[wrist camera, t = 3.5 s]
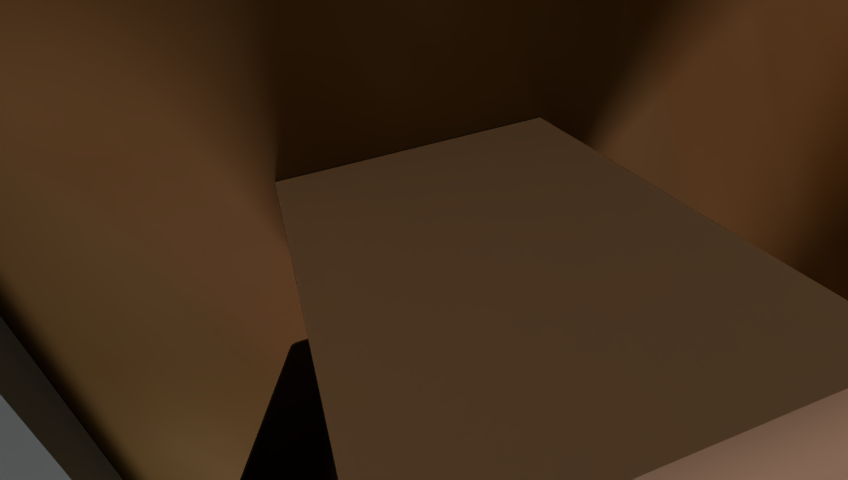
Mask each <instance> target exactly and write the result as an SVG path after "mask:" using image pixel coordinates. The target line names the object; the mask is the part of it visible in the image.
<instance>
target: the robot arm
mask: <svg viewBox="0 0 848 480" xmlns="http://www.w3.org/2000/svg"><path fill="white" fill-rule="evenodd" d="M240 480H338V476H337V471H336V466H335V462H334V457H333V452H332V448H331V443H330V438H329V434H328V429H327V424H326V420H325V415H324V410H323V406H322V401H321V396H320V392H319V387H318V382H317V377H316V373H315V368H314V363H313V359H312V354H311V349H310V345H309V340H308V339H305V340H302V341H299V342H296V343H294V344H292V346H291V347H290V350H289V352H288V355H287V357H286V360H285V363H284V365H283V368H282V371H281V373H280V376H279V379H278V381H277V384H276V386H275V389H274V392H273V394H272V397H271V400H270V402H269V405H268V408H267V410H266V413H265V416H264V418H263V421H262V423H261V426H260V429H259V431H258V434H257V437H256V439H255V442H254V445H253V447H252V450H251V453H250V455H249V458H248V460H247V463H246V466H245V468H244V471H243V474H242V476H241V479H240Z"/></svg>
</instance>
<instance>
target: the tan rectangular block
mask: <svg viewBox="0 0 848 480" xmlns="http://www.w3.org/2000/svg"><path fill="white" fill-rule="evenodd" d="M275 186H276V190H277V195H278V200H279V204H280V209H281V214H282V218H283V223H284V228H285V232H286V237H287V242H288V246H289V251H290V256H291V260H292V265H293V270H294V274H295V279H296V284H297V289H298V293H299V298H300V303H301V307H302V312H303V317H304V321H305V326H306V331H307V335H308V340H309V345H310V349H311V354H312V359H313V363H314V368H315V373H316V377H317V382H318V387H319V392H320V396H321V401H322V406H323V410H324V415H325V420H326V424H327V429H328V434H329V438H330V443H331V448H332V452H333V457H334V462H335V466H336V471H337V476H338V480H848V301H847V300H846V299H844V298H842V297H841V296H839V295H837V294H836V293H834V292H832V291H831V290H829V289H827V288H826V287H824V286H822V285H820V284H819V283H817V282H815V281H814V280H812V279H810V278H809V277H807V276H805V275H804V274H802V273H800V272H799V271H797V270H795V269H794V268H792V267H790V266H789V265H787V264H785V263H784V262H782V261H780V260H779V259H777V258H775V257H774V256H772V255H770V254H768V253H767V252H765V251H763V250H762V249H760V248H758V247H757V246H755V245H753V244H752V243H750V242H748V241H747V240H745V239H743V238H742V237H740V236H738V235H737V234H735V233H733V232H732V231H730V230H728V229H727V228H725V227H723V226H721V225H720V224H718V223H716V222H715V221H713V220H711V219H710V218H708V217H706V216H705V215H703V214H701V213H700V212H698V211H696V210H695V209H693V208H691V207H690V206H688V205H686V204H685V203H683V202H681V201H680V200H678V199H676V198H674V197H673V196H671V195H669V194H668V193H666V192H664V191H663V190H661V189H659V188H658V187H656V186H654V185H653V184H651V183H649V182H648V181H646V180H644V179H643V178H641V177H639V176H638V175H636V174H634V173H633V172H631V171H629V170H628V169H626V168H624V167H622V166H621V165H619V164H617V163H616V162H614V161H612V160H611V159H609V158H607V157H606V156H604V155H602V154H601V153H599V152H597V151H596V150H594V149H592V148H591V147H589V146H587V145H586V144H584V143H582V142H581V141H579V140H577V139H575V138H574V137H572V136H570V135H569V134H567V133H565V132H564V131H562V130H560V129H559V128H557V127H555V126H554V125H552V124H550V123H549V122H547V121H545V120H544V119H542V118H540V117H539V118H535V119H531V120H527V121H523V122H519V123H515V124H511V125H507V126H503V127H499V128H494V129H490V130H486V131H482V132H478V133H474V134H470V135H466V136H462V137H458V138H454V139H450V140H446V141H441V142H437V143H433V144H429V145H425V146H421V147H417V148H413V149H409V150H405V151H401V152H397V153H392V154H388V155H384V156H380V157H376V158H372V159H368V160H364V161H360V162H356V163H352V164H348V165H344V166H339V167H335V168H331V169H327V170H323V171H319V172H315V173H311V174H307V175H303V176H299V177H295V178H290V179H286V180H282V181H278V182H275Z"/></svg>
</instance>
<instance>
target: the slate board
mask: <svg viewBox="0 0 848 480" xmlns="http://www.w3.org/2000/svg"><path fill="white" fill-rule="evenodd" d="M0 480H122V479H121V477H120V476H119V474H118V473H117V472H116V470H115V469H114V468H113V466H112V465H111V464H110V462H109V461H108V460H107V458H106V457H105V456H104V454H103V453H102V452H101V450H100V449H99V448H98V446H97V445H96V444H95V442H94V441H93V440H92V438H91V437H90V436H89V434H88V433H87V432H86V430H85V429H84V428H83V426H82V425H81V423H80V422H79V421H78V419H77V418H76V417H75V415H74V414H73V413H72V411H71V410H70V409H69V407H68V406H67V405H66V403H65V402H64V401H63V399H62V398H61V397H60V395H59V394H58V393H57V391H56V390H55V389H54V387H53V386H52V385H51V383H50V382H49V381H48V379H47V378H46V377H45V375H44V374H43V372H42V371H41V370H40V368H39V367H38V366H37V364H36V363H35V362H34V360H33V359H32V358H31V356H30V355H29V354H28V352H27V351H26V350H25V348H24V347H23V346H22V344H21V343H20V342H19V340H18V339H17V338H16V336H15V335H14V334H13V332H12V331H11V330H10V328H9V327H8V326H7V324H6V323H5V321H4V320H3V319H2V317H1V316H0Z"/></svg>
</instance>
